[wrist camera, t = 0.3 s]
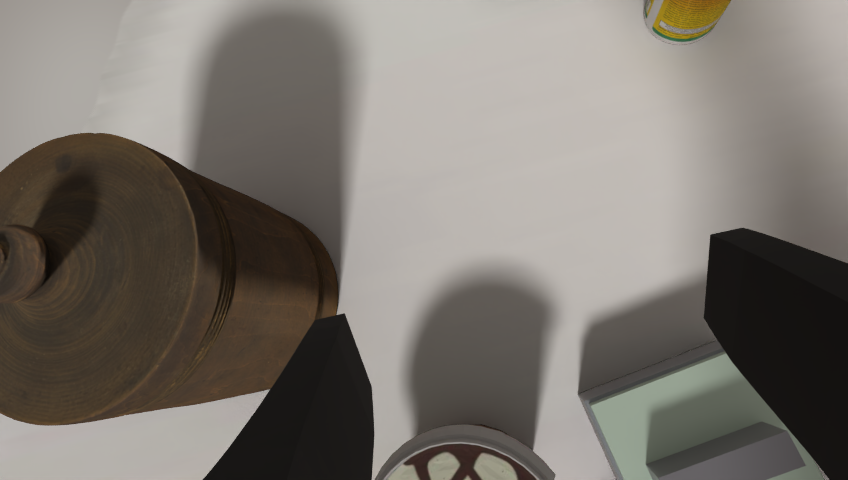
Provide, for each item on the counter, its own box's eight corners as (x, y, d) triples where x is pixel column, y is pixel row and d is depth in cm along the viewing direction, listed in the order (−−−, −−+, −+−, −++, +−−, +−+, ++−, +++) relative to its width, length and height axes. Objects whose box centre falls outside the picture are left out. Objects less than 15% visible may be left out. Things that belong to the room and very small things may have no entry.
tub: (793, 488, 33) (828, 509, 29) (643, 540, 34) (658, 567, 30) (715, 340, 35) (738, 341, 32) (577, 394, 36) (584, 401, 33)
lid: (826, 507, 30) (881, 538, 25) (661, 564, 31) (684, 605, 26) (738, 343, 32) (774, 345, 28) (587, 402, 33) (597, 413, 29)
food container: (495, 371, 38) (484, 384, 28) (549, 444, 36) (557, 485, 27) (363, 470, 38) (308, 516, 29) (410, 546, 37) (369, 622, 27)
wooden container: (243, 179, 45) (-12, 40, 24) (374, 276, 41) (211, 214, 20) (141, 319, 44) (-214, 306, 23) (265, 431, 40) (-24, 539, 19)
